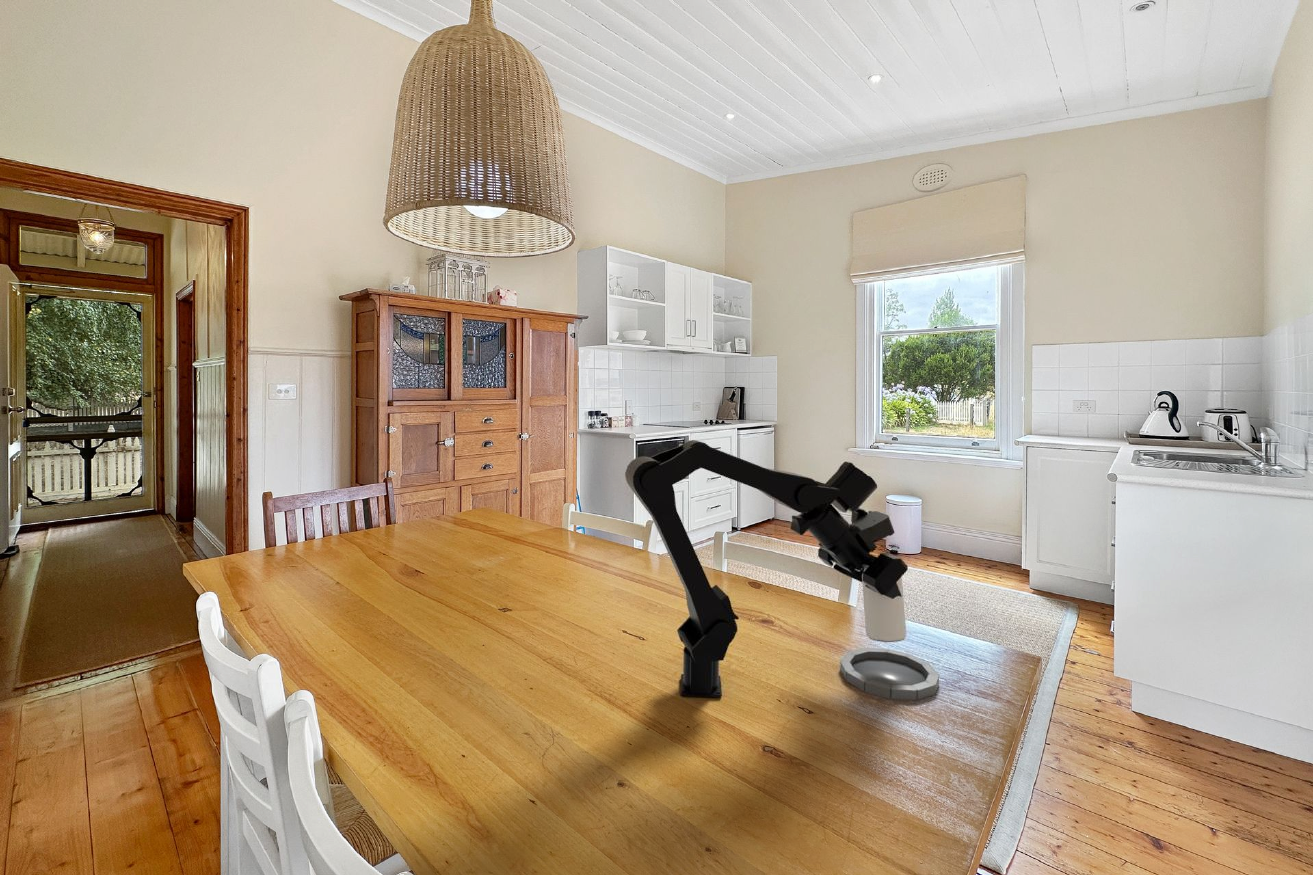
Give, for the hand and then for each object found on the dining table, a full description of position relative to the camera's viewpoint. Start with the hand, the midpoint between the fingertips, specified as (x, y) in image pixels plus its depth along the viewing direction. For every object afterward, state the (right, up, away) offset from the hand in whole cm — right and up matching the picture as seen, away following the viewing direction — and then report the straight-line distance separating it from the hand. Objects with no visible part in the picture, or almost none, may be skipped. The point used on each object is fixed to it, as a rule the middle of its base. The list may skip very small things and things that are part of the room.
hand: (887, 592), depth 103 cm
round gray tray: (-1, -13, -3) cm, 14 cm away
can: (-1, -8, -1) cm, 8 cm away
